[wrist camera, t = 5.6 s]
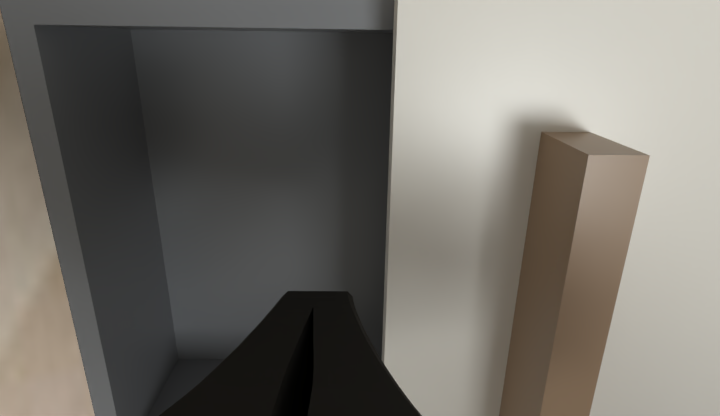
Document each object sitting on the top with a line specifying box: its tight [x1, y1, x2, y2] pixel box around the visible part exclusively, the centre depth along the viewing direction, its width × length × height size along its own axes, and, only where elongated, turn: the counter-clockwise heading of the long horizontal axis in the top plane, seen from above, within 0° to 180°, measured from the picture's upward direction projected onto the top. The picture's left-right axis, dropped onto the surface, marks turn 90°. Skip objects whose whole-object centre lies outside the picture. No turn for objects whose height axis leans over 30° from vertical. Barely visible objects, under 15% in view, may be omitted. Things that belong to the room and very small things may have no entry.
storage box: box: [0, 0, 394, 416], centre depth 14 cm, size 12×13×5 cm
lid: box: [382, 0, 720, 416], centre depth 10 cm, size 12×13×3 cm
